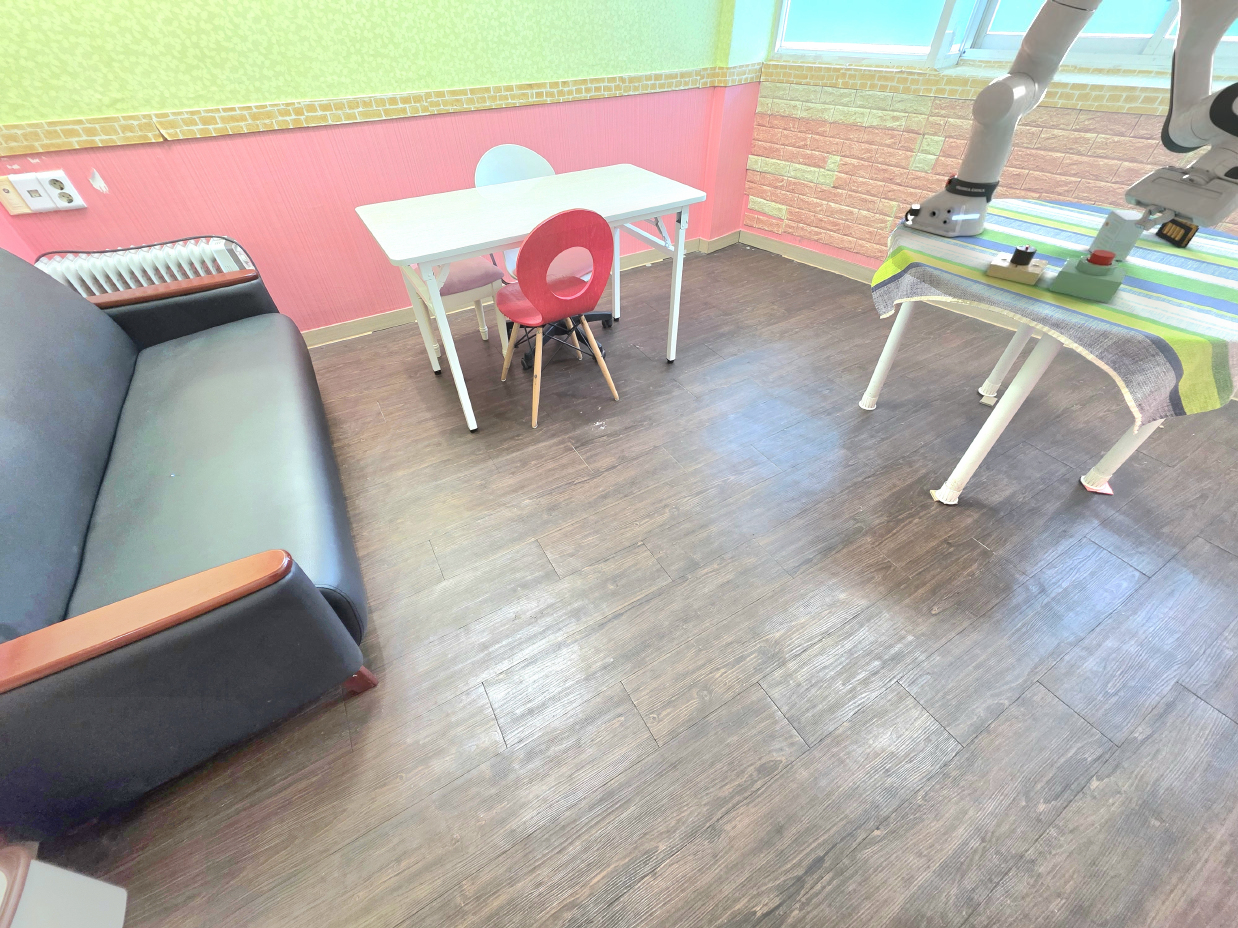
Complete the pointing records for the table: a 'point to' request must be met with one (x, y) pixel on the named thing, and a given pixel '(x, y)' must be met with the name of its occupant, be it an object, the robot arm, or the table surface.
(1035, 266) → the panel
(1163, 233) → the ammunition clip
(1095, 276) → the green push button box
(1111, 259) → the button
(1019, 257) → the knob
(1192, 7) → the robot arm
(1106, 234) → the small box
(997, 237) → the table surface
